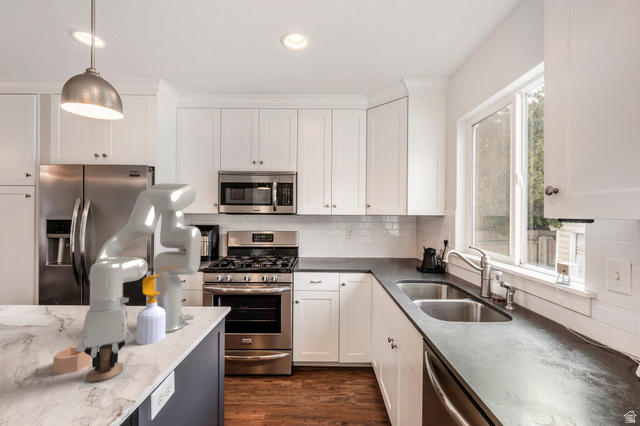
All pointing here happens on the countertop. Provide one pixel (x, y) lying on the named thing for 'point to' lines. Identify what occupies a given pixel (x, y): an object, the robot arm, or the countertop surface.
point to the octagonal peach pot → (70, 360)
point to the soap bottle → (150, 316)
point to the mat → (87, 384)
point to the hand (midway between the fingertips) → (105, 366)
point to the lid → (104, 366)
